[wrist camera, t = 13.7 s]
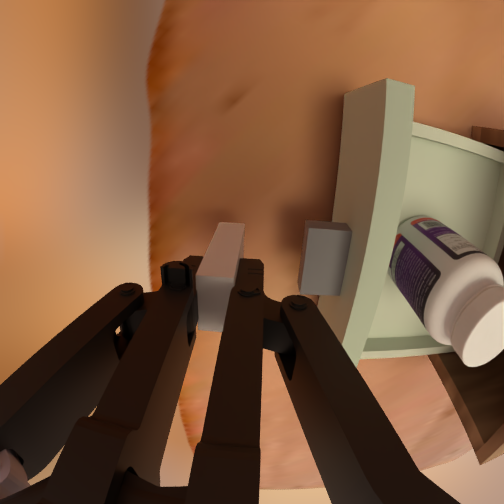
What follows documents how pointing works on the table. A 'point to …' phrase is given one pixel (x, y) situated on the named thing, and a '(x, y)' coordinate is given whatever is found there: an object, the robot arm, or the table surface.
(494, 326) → the pill bottle
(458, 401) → the housing
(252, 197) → the table surface
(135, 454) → the robot arm
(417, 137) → the drawer
